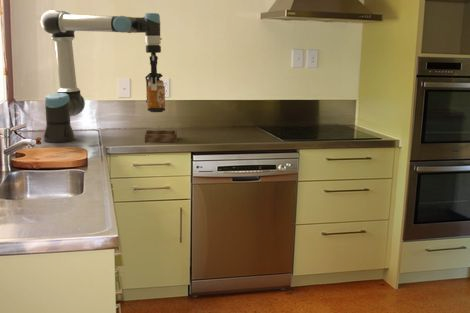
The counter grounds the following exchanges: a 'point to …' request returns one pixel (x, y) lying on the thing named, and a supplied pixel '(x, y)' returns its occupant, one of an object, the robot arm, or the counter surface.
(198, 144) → the counter surface
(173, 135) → the cradle
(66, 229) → the counter surface
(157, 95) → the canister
